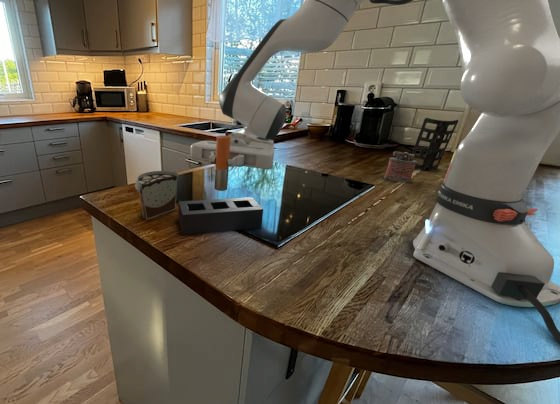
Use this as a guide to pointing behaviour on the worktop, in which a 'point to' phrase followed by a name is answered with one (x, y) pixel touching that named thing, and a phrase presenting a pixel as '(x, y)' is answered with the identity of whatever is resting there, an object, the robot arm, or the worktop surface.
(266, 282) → the worktop surface
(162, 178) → the food container
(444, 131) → the holder
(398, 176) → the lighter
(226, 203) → the pen holder
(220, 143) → the orange cylinder
